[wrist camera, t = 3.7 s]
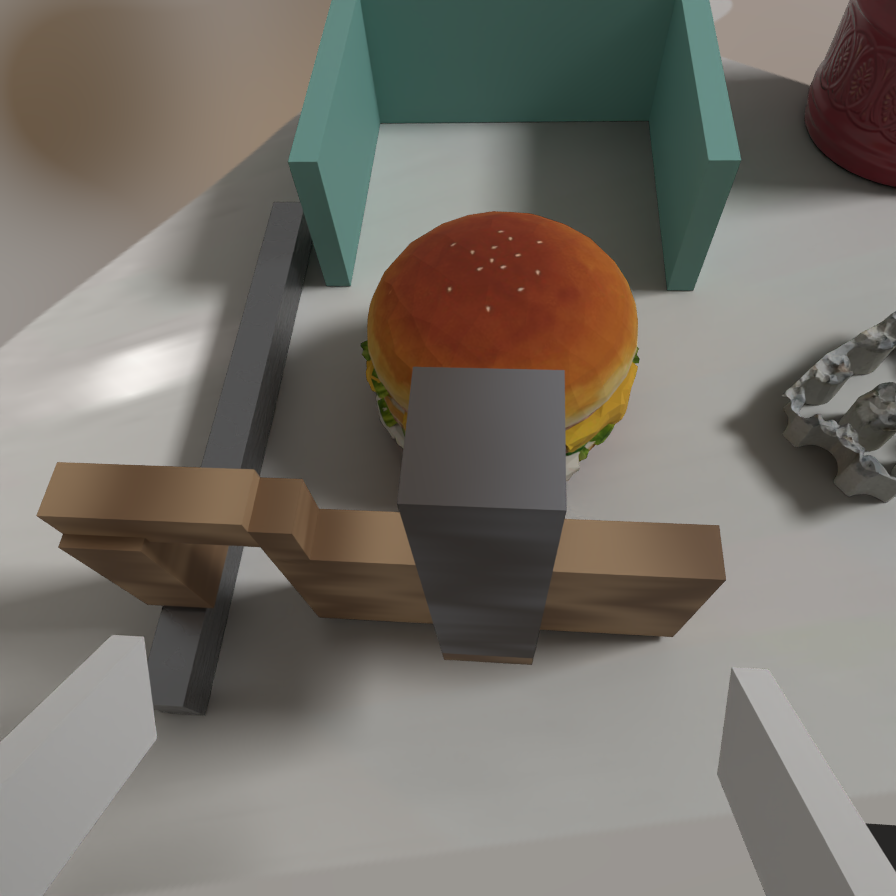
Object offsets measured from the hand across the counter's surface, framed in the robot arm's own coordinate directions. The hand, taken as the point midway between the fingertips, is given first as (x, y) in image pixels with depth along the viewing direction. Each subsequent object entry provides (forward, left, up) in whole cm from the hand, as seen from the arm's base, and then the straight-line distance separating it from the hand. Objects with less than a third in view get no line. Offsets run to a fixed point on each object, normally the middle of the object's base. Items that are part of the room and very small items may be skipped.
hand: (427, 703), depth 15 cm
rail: (+12, -16, -15) cm, 25 cm away
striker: (+2, -5, -15) cm, 16 cm away
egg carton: (-21, -18, -16) cm, 32 cm away
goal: (-1, -35, -15) cm, 38 cm away
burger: (-1, -18, -16) cm, 24 cm away
